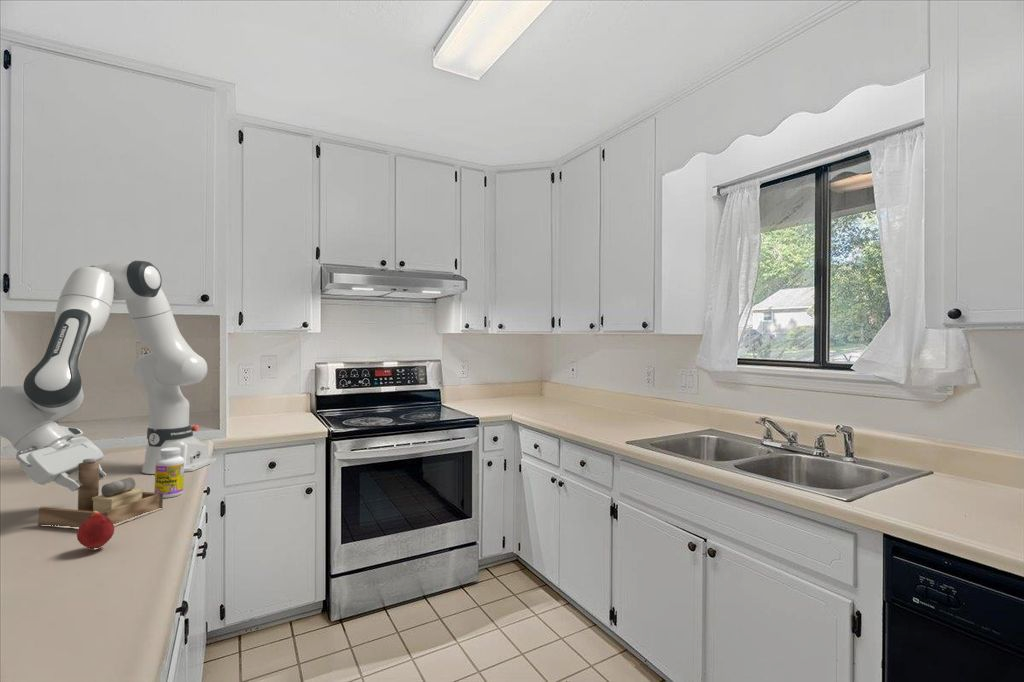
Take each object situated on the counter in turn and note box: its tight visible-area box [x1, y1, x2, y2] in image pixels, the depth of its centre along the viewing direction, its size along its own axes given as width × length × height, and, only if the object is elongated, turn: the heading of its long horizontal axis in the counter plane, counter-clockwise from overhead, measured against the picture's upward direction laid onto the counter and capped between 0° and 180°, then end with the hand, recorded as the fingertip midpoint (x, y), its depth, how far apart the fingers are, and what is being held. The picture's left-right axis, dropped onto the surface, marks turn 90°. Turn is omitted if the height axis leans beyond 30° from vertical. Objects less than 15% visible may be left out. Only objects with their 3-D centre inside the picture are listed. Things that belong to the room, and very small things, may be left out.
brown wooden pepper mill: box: [77, 459, 100, 511], centre depth 123 cm, size 5×5×13 cm
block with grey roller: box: [92, 477, 145, 512], centre depth 121 cm, size 8×5×9 cm, turn 171°
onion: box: [76, 511, 115, 550], centre depth 103 cm, size 6×6×8 cm
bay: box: [37, 491, 164, 527], centre depth 122 cm, size 16×17×4 cm
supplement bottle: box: [153, 447, 185, 499], centre depth 140 cm, size 7×7×13 cm
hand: (91, 483), depth 123 cm, fingers open, 8 cm apart
